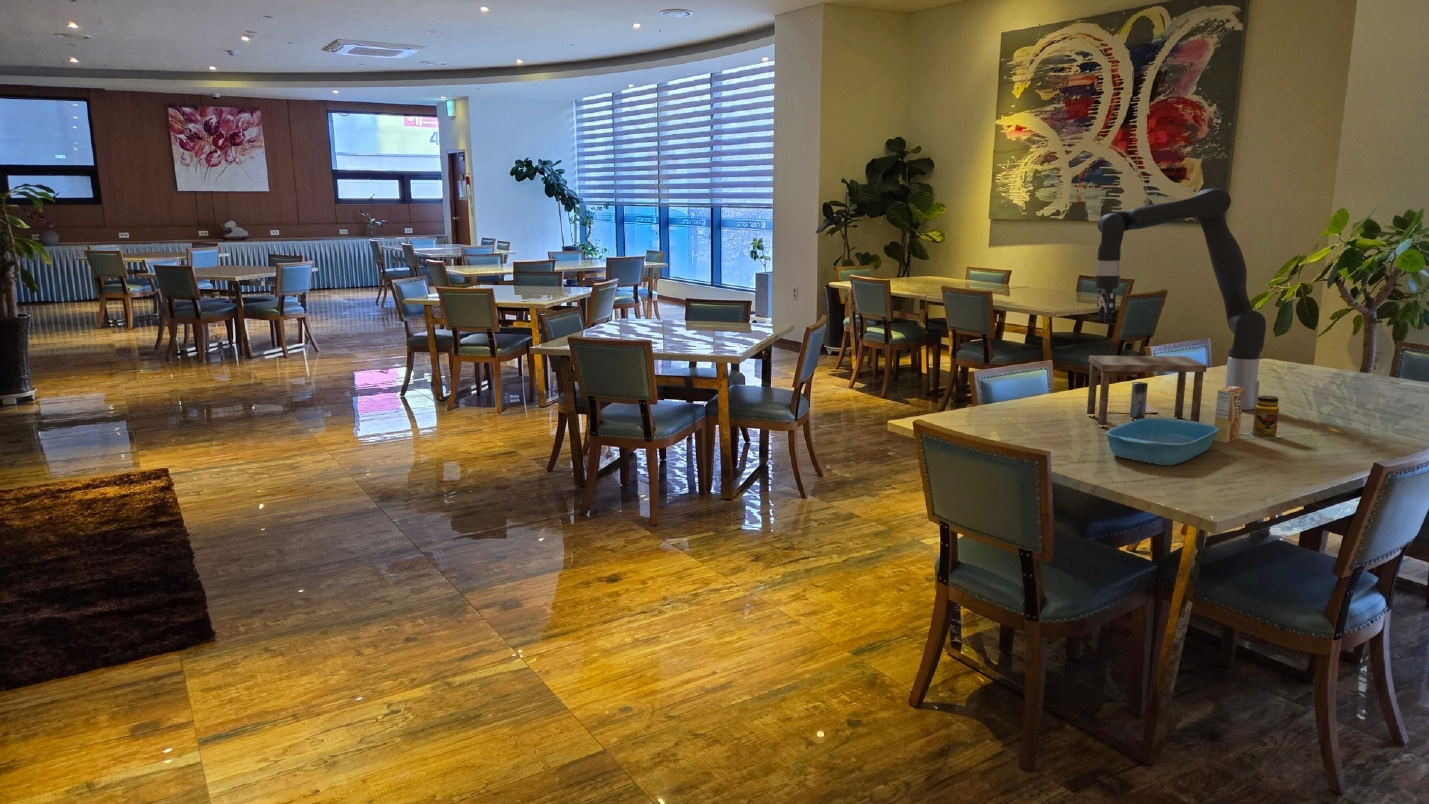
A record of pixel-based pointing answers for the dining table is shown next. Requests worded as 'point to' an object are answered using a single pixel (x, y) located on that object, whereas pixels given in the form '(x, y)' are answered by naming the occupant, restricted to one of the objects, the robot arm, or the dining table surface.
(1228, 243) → the robot arm
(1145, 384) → the metal canister
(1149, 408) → the rubber mat
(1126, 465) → the dining table surface
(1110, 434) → the casserole dish
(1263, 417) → the condiment
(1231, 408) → the candy box
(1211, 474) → the dining table surface
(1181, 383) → the low stand
